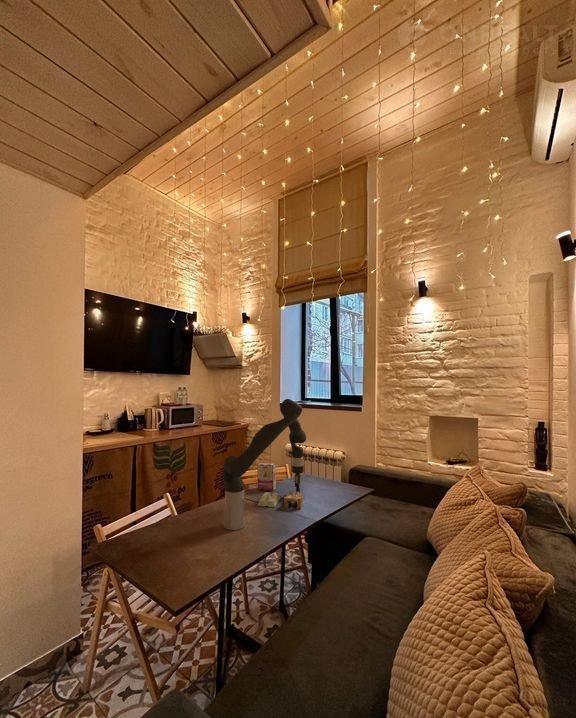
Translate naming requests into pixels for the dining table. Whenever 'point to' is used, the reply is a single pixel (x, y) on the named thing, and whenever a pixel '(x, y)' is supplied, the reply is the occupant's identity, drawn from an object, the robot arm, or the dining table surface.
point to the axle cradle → (269, 500)
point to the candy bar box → (266, 476)
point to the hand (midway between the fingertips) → (298, 493)
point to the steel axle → (293, 502)
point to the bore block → (298, 498)
